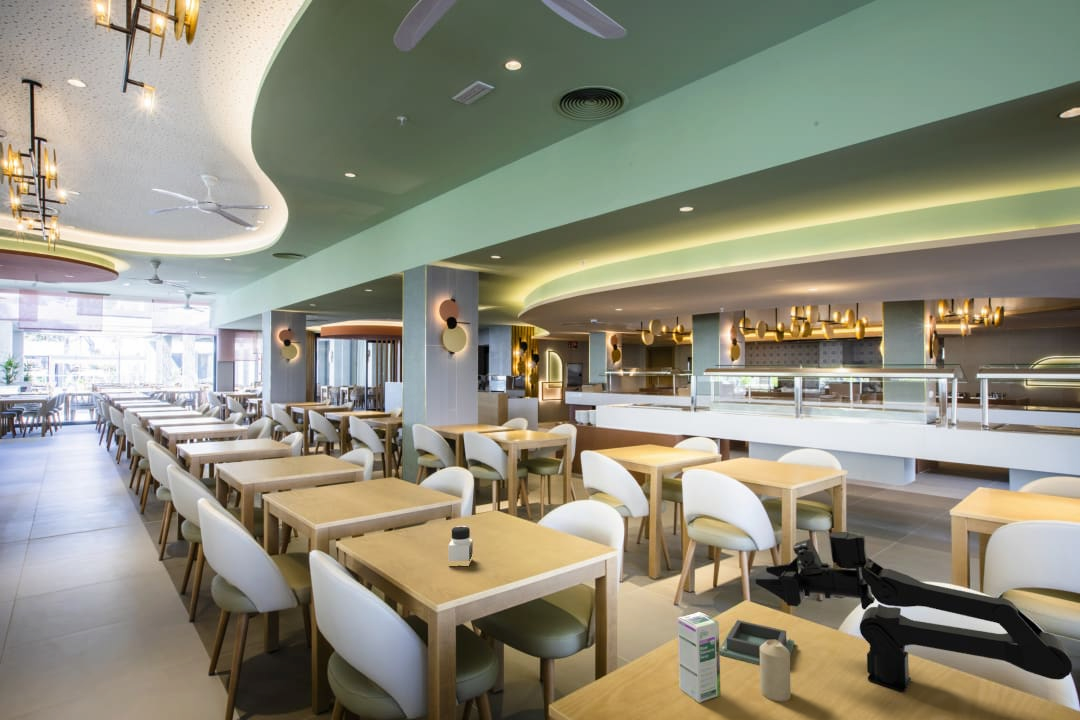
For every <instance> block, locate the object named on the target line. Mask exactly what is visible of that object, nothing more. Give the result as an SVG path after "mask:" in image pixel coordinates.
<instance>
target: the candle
mask: <svg viewBox="0 0 1080 720" xmlns="http://www.w3.org/2000/svg"><path fill="white" fill-rule="evenodd" d="M759 689H760V693H761V694H762V696H764V697H765V698H767V699H768V700H771V701H775V702H787V701H789V700H790V699H791V656H790V652H789V650H788V649H787V648H786V647H785V646H784V645H783V644H781V643H780V642H779V641H777V640H775V639H774V640H768V641H766V642H765V643H763V644H762V645H761V646H760V665H759Z"/></svg>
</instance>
